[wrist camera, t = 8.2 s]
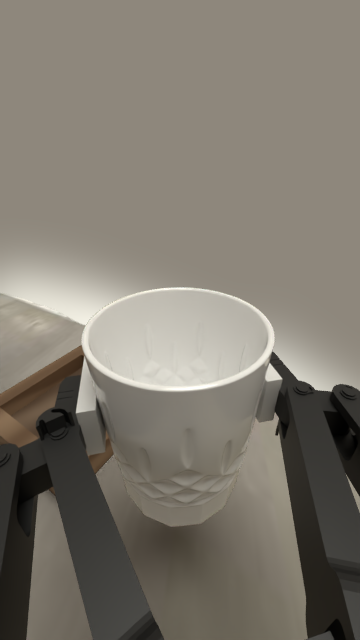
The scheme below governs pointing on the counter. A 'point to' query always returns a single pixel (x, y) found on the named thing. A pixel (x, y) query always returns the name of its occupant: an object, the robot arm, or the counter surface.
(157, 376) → the white cup
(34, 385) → the wooden tray
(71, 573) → the counter surface
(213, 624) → the counter surface
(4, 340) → the counter surface
